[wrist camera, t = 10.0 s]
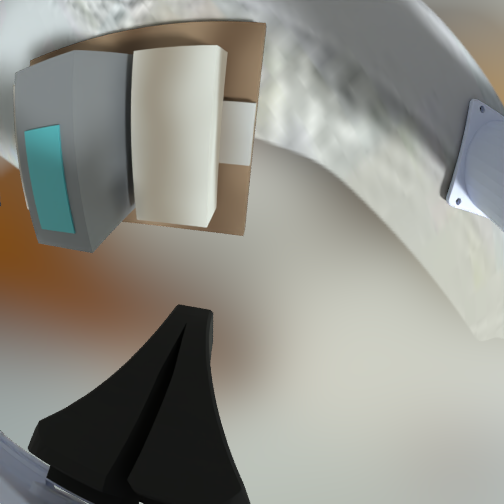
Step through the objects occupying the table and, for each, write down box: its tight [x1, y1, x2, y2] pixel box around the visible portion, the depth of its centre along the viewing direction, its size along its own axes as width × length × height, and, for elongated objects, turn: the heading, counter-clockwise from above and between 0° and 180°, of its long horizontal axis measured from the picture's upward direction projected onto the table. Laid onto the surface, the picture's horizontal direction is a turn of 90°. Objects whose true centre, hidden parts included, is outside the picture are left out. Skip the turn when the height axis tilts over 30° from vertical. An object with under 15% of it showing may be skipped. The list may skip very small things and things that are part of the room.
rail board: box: [13, 21, 266, 236], centre depth 13 cm, size 17×13×4 cm
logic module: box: [15, 50, 136, 253], centre depth 11 cm, size 4×9×6 cm, turn 175°
